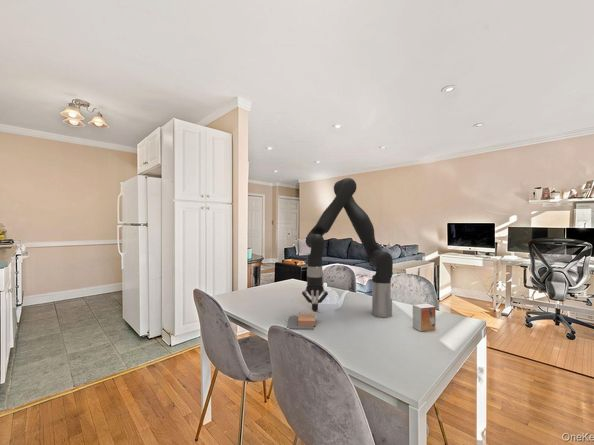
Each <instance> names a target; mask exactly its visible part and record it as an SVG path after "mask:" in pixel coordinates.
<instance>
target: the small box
mask: <svg viewBox="0 0 594 445" xmlns="http://www.w3.org/2000/svg"><path fill="white" fill-rule="evenodd" d="M412 328H413V329H415V330H417V331H420V332H421V333H422V332H428V331H436V306H434V305H432V304H429V303H420V304H412Z"/></svg>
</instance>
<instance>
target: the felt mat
mask: <svg viewBox="0 0 594 445" xmlns="http://www.w3.org/2000/svg"><path fill="white" fill-rule="evenodd" d="M298 316H299V315H288V322H287V327H286V328H289V329H288V330H314V327H315V326H298Z"/></svg>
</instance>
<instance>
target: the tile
mask: <svg viewBox="0 0 594 445" xmlns="http://www.w3.org/2000/svg"><path fill="white" fill-rule="evenodd" d="M297 316H298V326H313V327H316V312H314V313H313V312H311V313H310V312H309V313H308V312H307V313H306V312H304V313H303V312H302V313H301V312H299V313H298V315H297Z"/></svg>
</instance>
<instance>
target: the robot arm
mask: <svg viewBox="0 0 594 445" xmlns="http://www.w3.org/2000/svg"><path fill="white" fill-rule="evenodd" d="M356 190H357V183H356V181H355V180H354V179H353V178H350V177H346V178H342V179H340V180H338V181H336V182H335V183H334V185H333V192H334V194H335V197H334V198H333V200H332V202H330V204H329V205H328V206H327V207H326V209H325V210H324V211H323V212H322V214H321V216H320V217H319V218H318V221H317V222H316V224H315V225H314V226H313V228H312V229H311V230H310V231H309V232H308V234H306V235H307V236H306V237H305V245H306V247H308V248H310V251H309V252H310V253H309V254H308V255H307V268H306V288H305V289H304V290H303V291H302V292H301V295H302V296H303V297H304V298H305V300H306V301H307V302H308V303H309V304H311V311H312V313H313V312H314V313H316V312H317V311H318V310H319V304H321V303H322V302H323V301H324V300H325V299H326V298H327V296H328V294H329V293H328V291H327V290H325V289H324V284H323V283H324V282H323V281H324V280H323V276H324V275H323V274H324V273H323V270H324V269H323V255H324V250H325V244H326V243H325V242H326V241H325V238H324V237H323V236H324V235H325V234H327V233H329V231H330V230H331V229H332V226H333V224H334V223H335V221H336V219H337V218H338V216H339V214H340V213H341V211H342V210H343V209H344V211H345V213H346V215H347V217H348V219H349V220H350V222H351V225H352V227H353V229H354V231H355V233H356V234H357V236H358V238H359V240H360V242H361V244H362V246H363V248H364V250H365V252H366V255H367V256H366V257H367V258H368V262H370V265H371V266H372V267H374V268H375V273H374V274H373V275H372V276H371V282H372V283H371V284H372V285H371V286H372V287H371V288H372V289H371V294H372V296H371V298H372V299H371V300H372V302H371V303H372V305H371V308H372V309H371V310H372V311H371V313H372V315H373V316H374V317H378V318H389V317H390V318H391V317H393V297H391V295H392V294H391V292H392V290H391V287H392V286H391V283H392V282H391V280H392V277H393V270H394V269H393V268H394V267H393V264H394V262H393V260H394V259H393V256H392V254H390V252H388V251H384V250H381V248H380V247H379V245H378V243H377V241H376V237H375V228H374V225H373V223H372V221H371V219H370V217H369V215H368V214H367V213H366V212H365V210H364V209H363V208H362V207H360V205H359V204H358V203H357V202H356V200H355V198H354V197H353V195H355V193H356ZM308 295H309V296H310V297H311V298H310V297H309V296H308ZM319 297H320V298H319Z"/></svg>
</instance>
